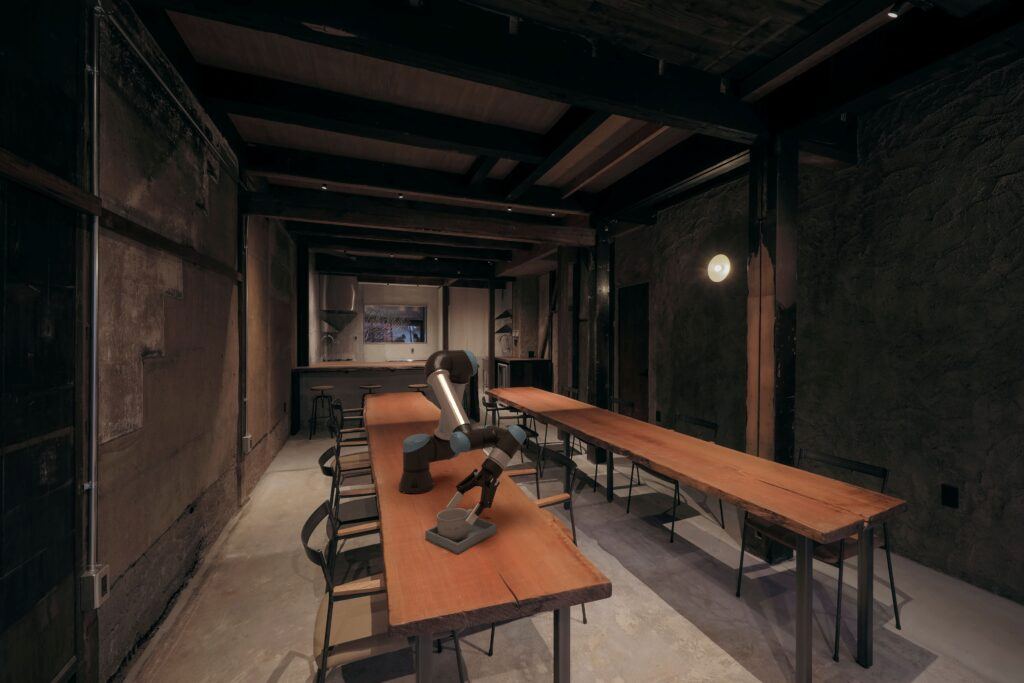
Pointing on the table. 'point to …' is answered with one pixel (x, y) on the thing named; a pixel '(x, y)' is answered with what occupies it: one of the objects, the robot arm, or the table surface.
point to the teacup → (453, 523)
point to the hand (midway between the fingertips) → (458, 516)
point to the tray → (473, 536)
